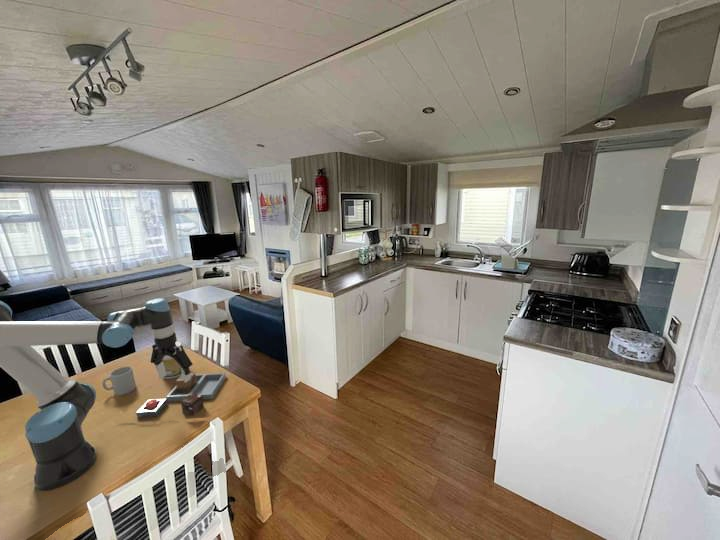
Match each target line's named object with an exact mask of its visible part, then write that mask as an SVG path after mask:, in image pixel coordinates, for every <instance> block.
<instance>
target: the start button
mask: <svg viewBox="0 0 720 540" xmlns="http://www.w3.org/2000/svg"><path fill="white" fill-rule="evenodd" d="M149 400H150V401H148V400H147V401H148V402H147V401H146V402H147V403H146V402H145V403H146V408H147V409H155V407H156V406H157V405H158V404H157V400H155V398H154V400H151V399H149Z"/></svg>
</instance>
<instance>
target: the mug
mask: <svg viewBox="0 0 720 540" xmlns="http://www.w3.org/2000/svg"><path fill="white" fill-rule="evenodd" d="M134 375H135V374H134V372H133V367H132V366H122V367H119V368H116V369H114V370H112V371H111V372H110V374H109V376H107V377H105V378H103V380H102V383H101V384H102V388H103V389H104V391H105V390H106V391H110V390H111V391H112V390H113V393H114V395H115V396H117V397H119V396H125V395H127V394H130V393H132V392H134V391H135V390H136V389H137V384H136V380H135V376H134ZM107 381H111V386H107V385H106V382H107Z"/></svg>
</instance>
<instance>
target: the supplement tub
mask: <svg viewBox="0 0 720 540" xmlns="http://www.w3.org/2000/svg"><path fill="white" fill-rule="evenodd" d="M175 344H176V346H180V345H182V343H181V341H176V343H175ZM182 346H183V345H182ZM183 349H184V351H185V352H186V349H185V348H184V347H183ZM174 354H176V352H175V353H174ZM174 354H173V355H174ZM162 362H163V363H164V367H165V371H166V376H164V377H163V378H162V379H167V380H169V379H175V378H177V377H178V378H179V377H180V376H181V375H182V371H181V369H182V367H181V366H180V365H179V364H178V363H177V362H176V360H175V359H174V358H171V357H170V356H167V355H166V356H164V358H163V359H162Z"/></svg>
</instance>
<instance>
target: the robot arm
mask: <svg viewBox="0 0 720 540" xmlns="http://www.w3.org/2000/svg"><path fill="white" fill-rule="evenodd" d="M144 305H145V306H142V307H137V308H132V309H125V310H124V309H123V310H118V311H115V312H111V313H109V314H108V315H107V319H106V321H104V320H103V321H101V320H100V321H99V320H98V321H97V320H96V321H93V320H92V321H85V320H84V321H83V320H82V321H79V320H76V321H74V320H73V321H71V320H70V321H68V320H67V321H61V320H60V321H58V320H57V321H55V320H53V321H47V320H46V321H44V320H43V321H42V320H41V321H38V320H37V321H35V320H34V321H33V320H32V321H14V320H13V319H12V316H13V310H12V308H11V307H10V306H9V305H8V304H7V303H5V302H4V301H1V300H0V368H1V369H2V370H3V371H5V372H6V373H7V374H8V375H9V376H11V377H12V379H14V380H15V381H17V383H18V384H20V385H21V386H22V387H24V388H25V390H27V391H28V392H29V393H30V394H32V396H34V397H36V398H37V402H36V404H35V405H36V407H37V408H39V410H40V411H36V412H35V413H34V414H32V416H31V417H30V418H28V420H27V421H26V423H25V425H24V430H25V438H26V440H27V441H28V444H29V446H30V449H31V451H32V455H33V456H34V460H35V463H36V465H35V466H36V467H35V474H34V476H33V483H34V486H35V488H36V489H37V490H39V491H51V490H55V489H57V488H61V487H62V486H65V485H67V484H69V483H71V482H73V481H74V480H76V479H78V478H79V477H80V476H82V475H83V474H84V473H86V472H87V471H88V470H89V469H90V468H91V467H92V466H93V465H94V463H95V462H96V460H97V452H96V449H95V447H93V446H92V445H91V444H90V443H89V442H88V441H87V440H86V439H85V437H84V433H83V430H82V425H83V423H84V421H85V420H86V418H87V415H88V414H89V412H90V410H91V409H92V408H93V407H94V404H95V401H96V398H97V392H96V389H95V388H94V386H92V385H91V384H89V383H86V382H79V381H77V380H76V379H67V378H66V377H65V376H64V375H63V374H62V373H60V371H58V369H56V368H55V367H54V366H53V365H52V364H51V363H50V362H49V361H48V360H47V359H46V358H45V357H44V356H42V355H41V354H40V353H39V352H38V351H37V350H36V349H35V348H34V347H32V346H57V345H58V346H60V345H65V346H66V345H89V344H91V345H92V344H93V345H94V344H104V345H105V346H106V347H110V348H113V349H114V348H116V349H117V348H120V347H123V346H125V345H127V343H129V341H130V340H131V339H132V338H133V337H134V334H135V332H136V330H137V329H138V328H139V327H145V326H149V325H150V329H151V333H152V337H153V342H154V344H152V345H151V347H152V351H151V352H152V353H151V356H150V357H151V358H150V363H151V364H154V366H155V367H156V370H157V373H158V378H159V379H160V380H161V379H164V378H163V377H164V376H166V371H165V367H164V363H163V362H162V359H163V358H164V356H166V355H167V356H170V357H171V358H174V359H175V360H176V362H177V363H178V364H179V365H180V366H181V367H182V369H181V371H182V375H183V380H184V383H186V382H187V381H189V380H190V379H191V377H190V373H191V370H190V367H191V366H193V364H194V363H193V362H192V361H191V359H190V358H189V356H188V355H187V352H186V350H185V348H184V346H183V345H180V346H176V344H175V343H176V342H178V338H177V334H176V331H175V326H174V322H173V318H172V312H171V308H170V305H169V301H168V300H167V299H166V298H163V297H161V298H159V297H158V298H154V299H151V300H148V301H145V303H144ZM183 348H184V349H183ZM184 350H185V351H184ZM175 352H176V354H174V353H175ZM173 354H174V355H173Z"/></svg>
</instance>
